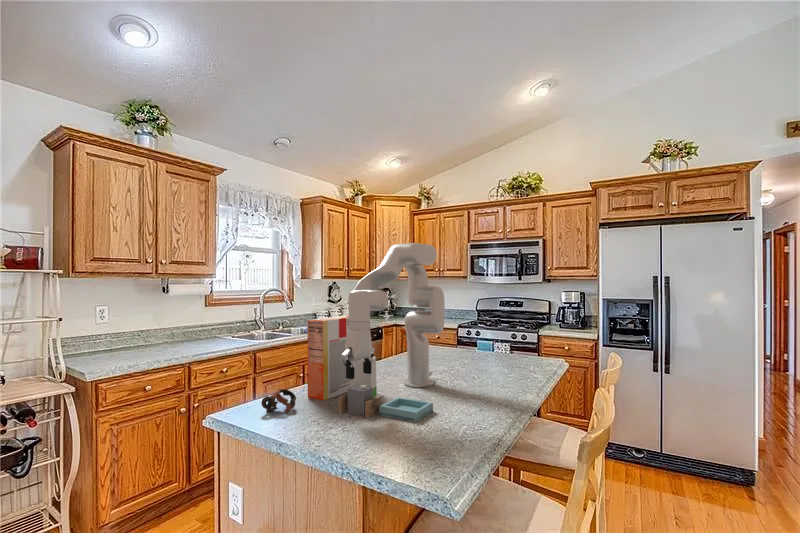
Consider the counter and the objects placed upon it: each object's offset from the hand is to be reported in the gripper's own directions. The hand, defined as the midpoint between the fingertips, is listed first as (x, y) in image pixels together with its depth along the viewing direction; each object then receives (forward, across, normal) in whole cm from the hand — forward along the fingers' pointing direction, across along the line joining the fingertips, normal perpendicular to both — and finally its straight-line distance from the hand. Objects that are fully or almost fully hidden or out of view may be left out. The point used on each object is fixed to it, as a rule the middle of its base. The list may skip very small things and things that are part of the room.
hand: (358, 376), depth 139 cm
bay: (+12, -1, 0) cm, 12 cm away
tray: (+12, -7, +15) cm, 20 cm away
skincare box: (+12, -14, -7) cm, 20 cm away
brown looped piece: (+13, +13, -26) cm, 31 cm away
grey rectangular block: (+12, -1, 0) cm, 12 cm away
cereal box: (+12, -16, -24) cm, 31 cm away
